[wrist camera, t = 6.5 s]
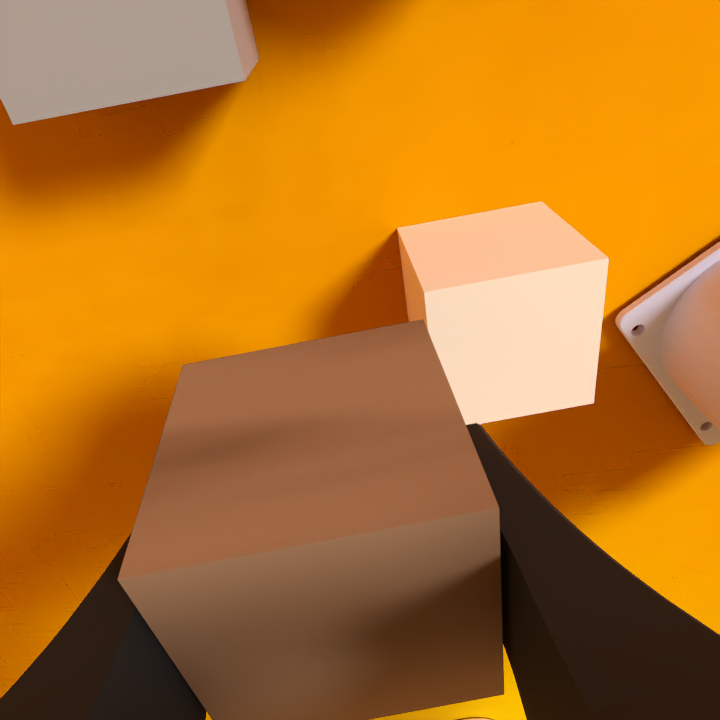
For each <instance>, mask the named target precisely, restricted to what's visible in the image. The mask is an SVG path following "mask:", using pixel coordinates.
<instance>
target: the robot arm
mask: <svg viewBox="0 0 720 720" xmlns="http://www.w3.org/2000/svg"><path fill="white" fill-rule="evenodd" d="M615 324H616V326H617V328H618V329H619V330H620V332H621V333H622V334H623V336H624V337H625V338H626V340H627V341H628V342H629V344H630V345H631V346H632V348H633V349H634V351H635V352H636V353H637V355H638V356H639V357H640V359H641V360H642V361H643V363H644V364H645V365H646V367H647V368H648V370H649V371H650V372H651V374H652V375H653V376H654V378H655V379H656V380H657V382H658V383H659V384H660V386H661V387H662V388H663V390H664V391H665V393H666V394H667V395H668V397H669V398H670V399H671V401H672V402H673V403H674V405H675V406H676V407H677V409H678V410H679V412H680V413H681V414H682V416H683V417H684V418H685V420H686V421H687V422H688V424H689V425H690V426H691V428H692V429H693V430H694V432H695V433H696V435H697V436H698V437H699V439H700V440H701V441H702V442H703V443H704V444H705V445H715V444H717V443H719V442H720V241H719V242H718V243H717V244H715V245H714V246H712V247H711V248H709V249H708V250H707V251H705V252H704V253H702V254H701V255H699V256H698V257H697V258H695V259H694V260H692V261H691V262H690V263H688V264H687V265H685V266H684V267H682V268H681V269H680V270H678V271H677V272H675V273H674V274H673V275H671V276H670V277H668V278H667V279H665V280H664V281H663V282H661V283H660V284H658V285H657V286H655V287H654V288H653V289H651V290H650V291H648V292H647V293H646V294H644V295H643V296H641V297H640V298H638V299H637V300H636V301H634V302H633V303H631V304H630V305H629V306H627V307H626V308H624V309H623V310H622V311H621V312H619V313H618V315H617V317H616V319H615ZM637 325H639V327H638V328H637V329H636V330H634V331H632V329H633V328H634V327H635V326H637ZM466 427H467V429H468V432H469V434H470V436H471V439H472V441H473V444H474V446H475V449H476V451H477V454H478V456H479V459H480V461H481V464H482V466H483V469H484V471H485V474H486V476H487V479H488V481H489V484H490V486H491V489H492V491H493V494H494V496H495V498H496V501H497V503H498V506H499V518H500V556H501V594H502V633H503V645H504V647H505V650H506V653H507V656H508V659H509V661H510V664H511V667H512V670H513V673H514V676H515V680H516V683H517V687H518V690H519V694H520V697H521V701H522V704H523V708H524V711H525V715H526V718H527V720H720V635H719V634H717V633H716V632H714V631H713V630H712V629H710V628H709V627H707V626H706V625H704V624H703V623H701V622H700V621H698V620H697V619H695V618H694V617H692V616H691V615H689V614H688V613H686V612H685V611H683V610H682V609H680V608H679V607H677V606H676V605H674V604H673V603H672V602H670V601H669V600H667V599H666V598H664V597H663V596H661V595H660V594H659V593H657V592H656V591H655V590H653V589H652V588H651V587H649V586H648V585H647V584H645V583H644V582H643V581H641V580H640V579H639V578H637V577H636V576H635V575H633V574H632V573H631V572H630V571H628V570H627V569H626V568H624V567H623V566H622V565H621V564H619V563H618V562H617V561H616V560H614V559H613V558H612V557H611V556H609V555H608V554H607V553H606V552H605V551H603V550H602V549H601V548H600V547H599V546H597V545H596V544H595V543H594V542H593V541H592V540H590V539H589V538H588V537H587V536H586V535H585V534H584V533H582V532H581V531H580V530H579V529H578V528H577V527H576V526H575V525H574V524H572V523H571V522H570V521H569V520H568V519H567V518H566V517H565V516H564V515H563V514H562V513H561V512H559V511H558V510H557V509H556V508H555V507H554V506H553V505H552V504H551V503H550V502H549V501H548V500H547V499H546V498H545V497H544V496H543V495H542V494H541V493H540V492H539V491H538V490H537V489H536V488H535V487H534V486H533V485H532V484H531V483H530V482H529V481H528V480H527V479H526V478H525V476H524V475H523V474H522V473H521V472H520V471H519V470H518V469H517V468H516V467H515V466H514V464H513V463H512V462H511V461H510V460H509V459H508V458H507V457H506V455H505V454H504V453H503V452H502V451H501V450H500V448H499V447H498V446H497V445H496V444H495V442H494V441H493V440H492V439H491V437H490V436H489V435H488V434H487V432H486V431H485V430H484V428H483V427H482V426H481V425H479V424H477V423H473V424H468V425H466ZM131 534H132V533H131ZM131 534H130V535H129V537H128V538H127V540H126V541H125V543H124V544H123V546H122V547H121V549H120V550H119V551H118V553H117V554H116V556H115V557H114V559H113V560H112V562H111V563H110V564H109V566H108V567H107V569H106V570H105V572H104V573H103V574H102V576H101V577H100V579H99V580H98V581H97V583H96V584H95V585H94V587H93V588H92V589H91V591H90V592H89V593H88V595H87V596H86V597H85V599H84V600H83V601H82V603H81V604H80V605H79V607H78V608H77V609H76V611H75V612H74V613H73V614H72V616H71V617H70V618H69V620H68V621H67V622H66V624H65V625H64V626H63V627H62V629H61V630H60V631H59V632H58V634H57V635H56V636H55V637H54V639H53V640H52V641H51V642H50V643H49V645H48V646H47V647H46V648H45V649H44V651H43V652H42V653H41V654H40V655H39V656H38V658H37V659H36V660H35V661H34V662H33V663H32V664H31V666H30V667H29V668H28V669H27V670H26V671H25V672H24V674H23V675H22V676H21V677H20V678H19V679H18V680H17V682H16V683H15V684H14V685H13V686H12V687H11V688H10V689H9V690H8V691H7V692H6V694H5V695H4V696H3V697H2V698H1V699H0V720H205V718H206V709H205V708H204V707H203V705H202V704H201V702H200V701H199V699H198V698H197V696H196V695H195V693H194V692H193V690H192V689H191V687H190V686H189V684H188V683H187V681H186V680H185V679H184V677H183V676H182V674H181V673H180V671H179V670H178V668H177V667H176V665H175V664H174V662H173V661H172V659H171V658H170V656H169V655H168V653H167V652H166V651H165V649H164V648H163V646H162V645H161V643H160V642H159V640H158V639H157V637H156V636H155V634H154V633H153V631H152V630H151V628H150V627H149V625H148V624H147V623H146V621H145V620H144V618H143V617H142V615H141V614H140V612H139V611H138V609H137V608H136V606H135V605H134V603H133V602H132V600H131V599H130V597H129V596H128V595H127V593H126V592H125V590H124V589H123V587H122V586H121V584H120V583H119V581H118V580H117V579H118V576H119V573H120V570H121V566H122V563H123V560H124V556H125V553H126V550H127V547H128V543H129V540H130V537H131Z"/></svg>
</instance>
